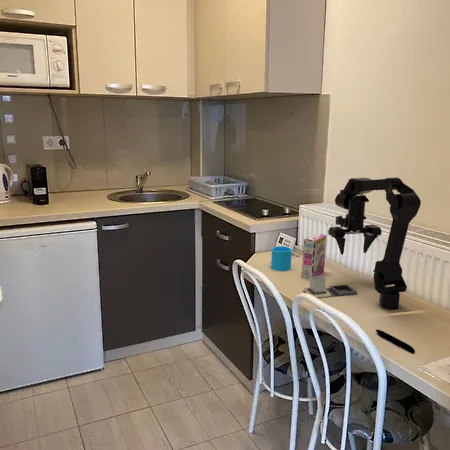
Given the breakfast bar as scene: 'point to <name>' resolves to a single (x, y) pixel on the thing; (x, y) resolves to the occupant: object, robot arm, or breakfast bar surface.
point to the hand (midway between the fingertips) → (353, 253)
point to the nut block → (317, 284)
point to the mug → (281, 258)
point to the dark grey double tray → (334, 291)
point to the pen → (395, 341)
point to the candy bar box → (313, 255)
